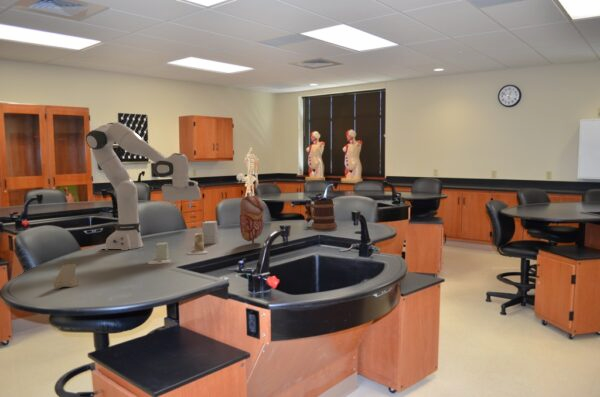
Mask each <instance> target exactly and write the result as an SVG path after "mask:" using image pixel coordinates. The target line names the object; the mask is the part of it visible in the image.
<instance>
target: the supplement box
mask: <svg viewBox="0 0 600 397" xmlns="http://www.w3.org/2000/svg"><path fill="white" fill-rule="evenodd" d="M201 226H202V233H203V239H204V245H208V244H209V245H212V244H217V243H218V242H219V233H218V220H211V221H210V220H209V221H204V222H202V223H201Z"/></svg>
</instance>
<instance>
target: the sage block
mask: <svg viewBox="0 0 600 397" xmlns="http://www.w3.org/2000/svg"><path fill="white" fill-rule="evenodd" d="M155 251H156V252H155V256H156V259H155V260H156V261H158V260H169V257H170V255H169V242H157V243H156V244H155Z"/></svg>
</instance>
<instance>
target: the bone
mask: <svg viewBox="0 0 600 397" xmlns="http://www.w3.org/2000/svg"><path fill="white" fill-rule="evenodd" d="M76 268H77V263H72V262H66V263H62V266H61V269H60V270H59V272H58V273H57V275H56V277H55V279H54V281H53V287H54V289H55V290H58V289H61V288H68V287H70V288H74V287H77V286H78V285H79V280H77V278H76Z"/></svg>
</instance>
